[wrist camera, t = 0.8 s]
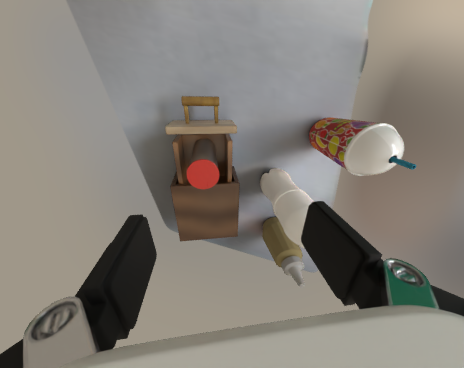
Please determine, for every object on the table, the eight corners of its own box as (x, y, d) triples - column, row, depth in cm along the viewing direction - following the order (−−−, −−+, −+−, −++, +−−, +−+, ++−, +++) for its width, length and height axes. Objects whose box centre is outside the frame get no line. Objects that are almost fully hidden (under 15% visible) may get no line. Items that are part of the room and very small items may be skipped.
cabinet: (177, 168, 39) (170, 186, 31) (233, 165, 40) (239, 183, 32) (184, 216, 45) (180, 241, 37) (232, 213, 46) (237, 236, 39)
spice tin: (191, 138, 34) (184, 160, 23) (215, 137, 34) (218, 159, 24) (194, 160, 36) (188, 190, 25) (216, 159, 37) (219, 188, 26)
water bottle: (256, 191, 44) (304, 290, 22) (259, 165, 41) (319, 252, 19) (283, 190, 45) (354, 284, 23) (288, 164, 42) (377, 246, 20)
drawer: (169, 95, 31) (159, 96, 25) (232, 96, 32) (237, 97, 26) (181, 178, 39) (176, 194, 33) (231, 176, 40) (235, 191, 34)
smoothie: (343, 111, 37) (463, 130, 20) (333, 149, 41) (426, 192, 24) (306, 113, 36) (397, 135, 19) (300, 152, 40) (371, 198, 23)
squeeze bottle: (279, 236, 53) (310, 297, 37) (255, 233, 51) (276, 296, 35) (290, 215, 49) (329, 273, 34) (264, 211, 48) (292, 271, 32)
